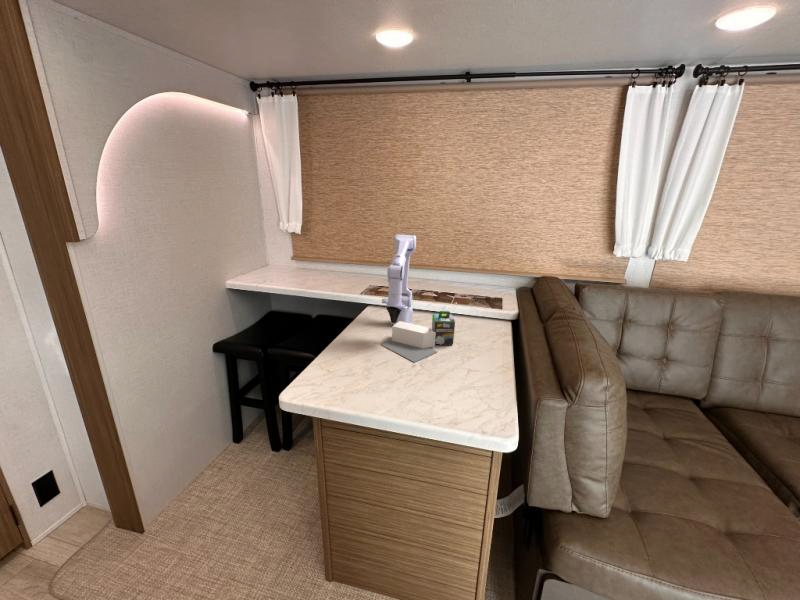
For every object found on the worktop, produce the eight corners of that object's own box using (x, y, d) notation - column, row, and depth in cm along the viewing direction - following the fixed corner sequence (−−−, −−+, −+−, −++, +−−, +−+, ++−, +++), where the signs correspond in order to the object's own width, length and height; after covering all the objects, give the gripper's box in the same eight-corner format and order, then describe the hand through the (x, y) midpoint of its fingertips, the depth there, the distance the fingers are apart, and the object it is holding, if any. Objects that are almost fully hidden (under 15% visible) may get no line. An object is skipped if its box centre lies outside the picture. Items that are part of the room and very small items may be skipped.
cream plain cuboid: (391, 340, 156) (431, 350, 149) (391, 326, 154) (432, 335, 146) (398, 335, 162) (437, 344, 155) (399, 320, 160) (438, 329, 152)
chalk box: (450, 336, 164) (453, 307, 159) (453, 345, 155) (456, 314, 151) (430, 336, 164) (432, 306, 159) (432, 345, 155) (435, 313, 150)
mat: (404, 336, 162) (404, 336, 162) (437, 352, 148) (437, 351, 148) (381, 345, 153) (381, 344, 152) (414, 362, 139) (414, 362, 139)
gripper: (376, 290, 152) (376, 319, 157) (399, 299, 142) (398, 330, 147) (389, 287, 157) (388, 316, 161) (412, 295, 147) (410, 325, 151)
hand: (393, 322), depth 154 cm, fingers closed
